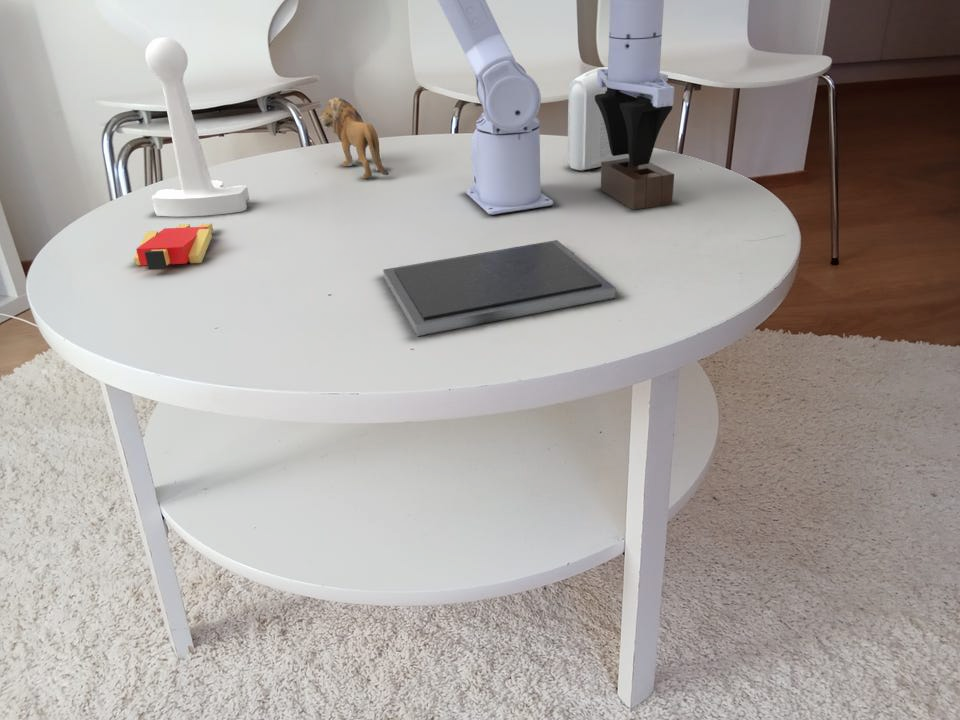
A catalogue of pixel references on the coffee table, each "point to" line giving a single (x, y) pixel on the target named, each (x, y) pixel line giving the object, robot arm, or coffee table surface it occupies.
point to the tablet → (494, 286)
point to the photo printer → (587, 125)
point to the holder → (637, 184)
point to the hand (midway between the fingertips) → (629, 159)
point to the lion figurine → (353, 134)
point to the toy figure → (174, 246)
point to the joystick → (187, 145)
